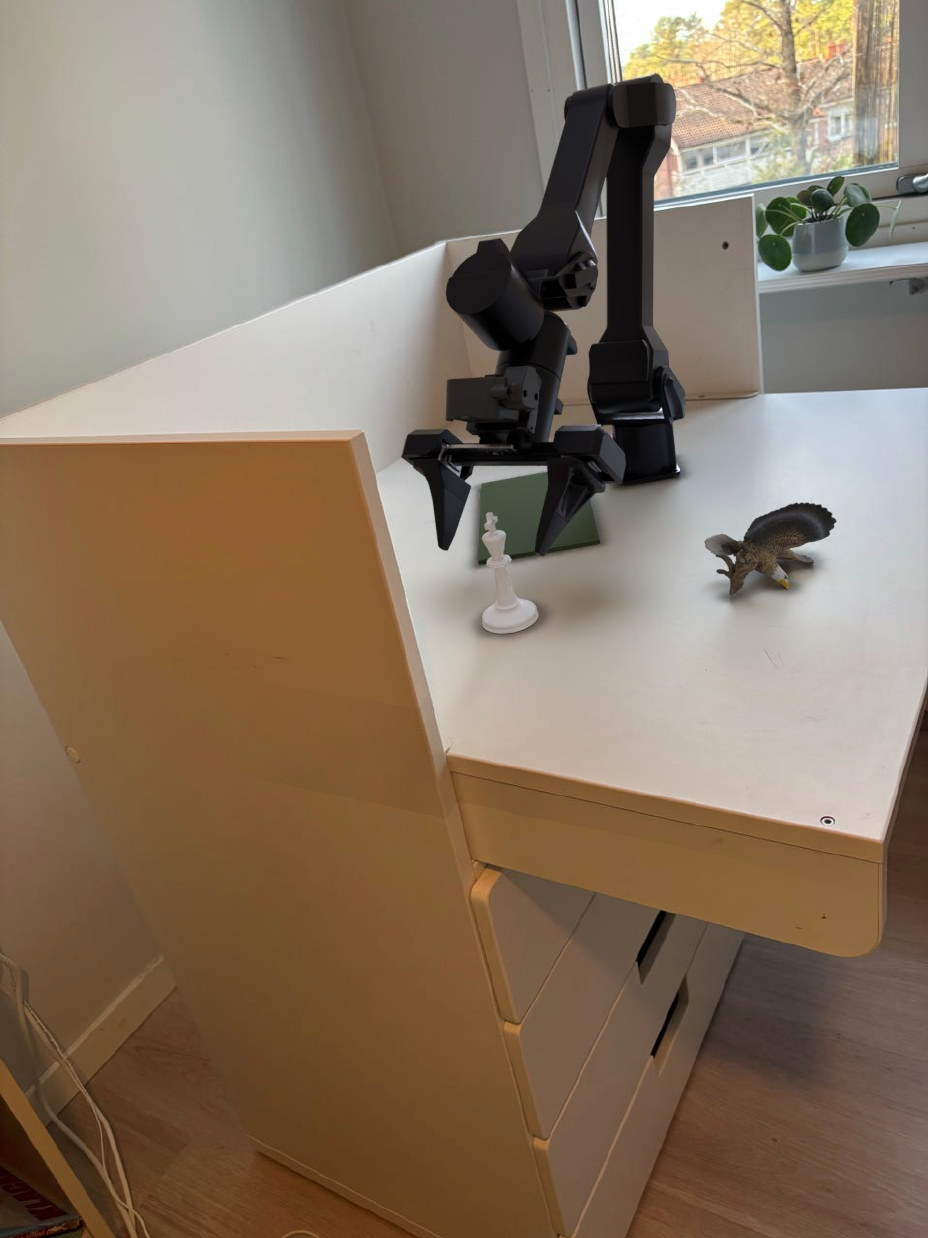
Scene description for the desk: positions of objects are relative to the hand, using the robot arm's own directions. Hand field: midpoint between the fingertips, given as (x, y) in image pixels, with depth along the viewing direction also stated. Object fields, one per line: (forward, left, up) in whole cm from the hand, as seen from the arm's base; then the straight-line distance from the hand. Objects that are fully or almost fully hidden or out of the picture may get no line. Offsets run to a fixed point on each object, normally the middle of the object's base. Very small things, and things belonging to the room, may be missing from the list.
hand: (489, 551), depth 76 cm
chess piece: (0, -1, -7) cm, 7 cm away
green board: (-3, -24, -7) cm, 26 cm away
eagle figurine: (-22, 0, -7) cm, 24 cm away
